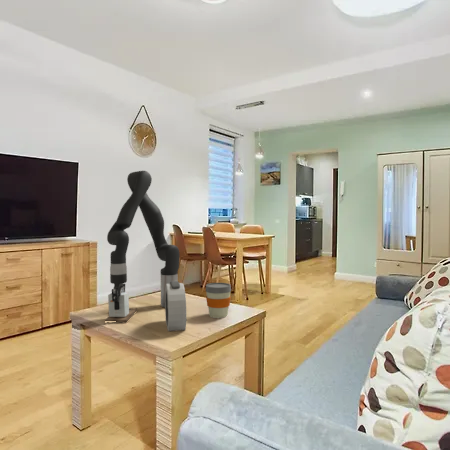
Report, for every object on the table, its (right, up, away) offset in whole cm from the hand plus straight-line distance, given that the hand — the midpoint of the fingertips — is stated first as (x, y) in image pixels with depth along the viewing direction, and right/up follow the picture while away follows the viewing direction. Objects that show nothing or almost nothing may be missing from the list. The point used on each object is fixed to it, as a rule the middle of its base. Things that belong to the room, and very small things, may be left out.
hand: (119, 307), depth 169 cm
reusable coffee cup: (+47, -5, +6) cm, 48 cm away
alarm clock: (+28, -6, -10) cm, 30 cm away
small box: (0, -4, 0) cm, 4 cm away
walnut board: (0, -5, +4) cm, 7 cm away
